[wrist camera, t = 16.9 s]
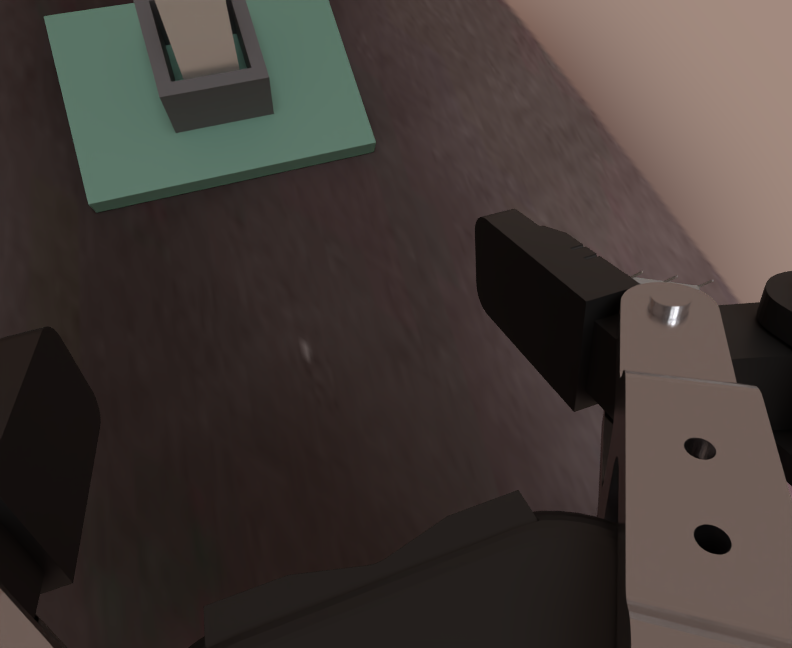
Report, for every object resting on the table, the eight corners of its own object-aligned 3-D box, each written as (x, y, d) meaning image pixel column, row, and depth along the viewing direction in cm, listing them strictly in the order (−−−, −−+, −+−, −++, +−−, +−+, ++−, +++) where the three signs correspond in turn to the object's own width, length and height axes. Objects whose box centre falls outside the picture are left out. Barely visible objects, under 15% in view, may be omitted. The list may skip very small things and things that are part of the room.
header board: (373, 152, 45) (382, 109, 39) (96, 212, 41) (60, 175, 35) (319, -11, 48) (320, -73, 42) (52, 30, 43) (12, -33, 37)
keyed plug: (245, 98, 43) (222, -14, 32) (194, 108, 42) (153, -4, 31) (228, 44, 44) (201, -84, 33) (178, 53, 43) (133, -75, 32)
